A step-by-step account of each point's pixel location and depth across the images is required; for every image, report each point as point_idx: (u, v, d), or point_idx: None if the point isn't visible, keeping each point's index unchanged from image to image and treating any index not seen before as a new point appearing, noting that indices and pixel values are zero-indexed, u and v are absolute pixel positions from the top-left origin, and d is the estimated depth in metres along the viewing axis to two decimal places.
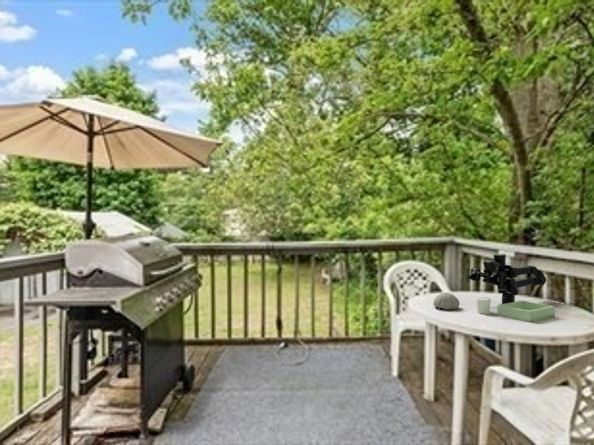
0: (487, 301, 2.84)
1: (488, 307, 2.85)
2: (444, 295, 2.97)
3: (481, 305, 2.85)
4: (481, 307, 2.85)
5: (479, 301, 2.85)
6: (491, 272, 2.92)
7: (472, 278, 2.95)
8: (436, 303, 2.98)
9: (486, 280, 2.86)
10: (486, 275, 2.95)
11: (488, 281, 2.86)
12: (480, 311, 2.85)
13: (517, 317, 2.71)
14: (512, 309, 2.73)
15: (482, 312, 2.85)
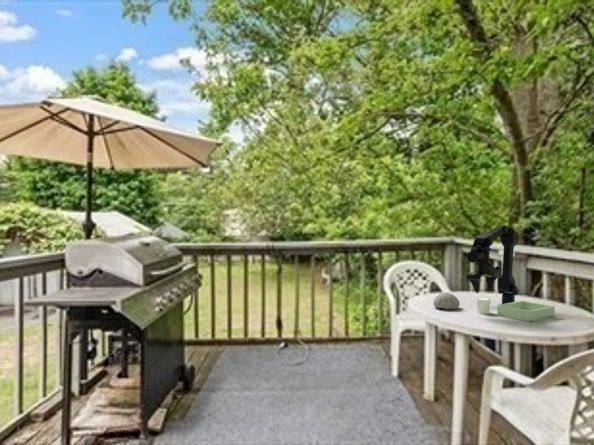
0: (487, 301, 2.84)
1: (488, 307, 2.85)
2: (444, 295, 2.97)
3: (481, 305, 2.85)
4: (481, 307, 2.85)
5: (479, 301, 2.85)
6: None
7: None
8: (436, 303, 2.98)
9: None
10: None
11: None
12: (480, 311, 2.85)
13: (517, 317, 2.71)
14: (512, 309, 2.73)
15: (482, 312, 2.85)
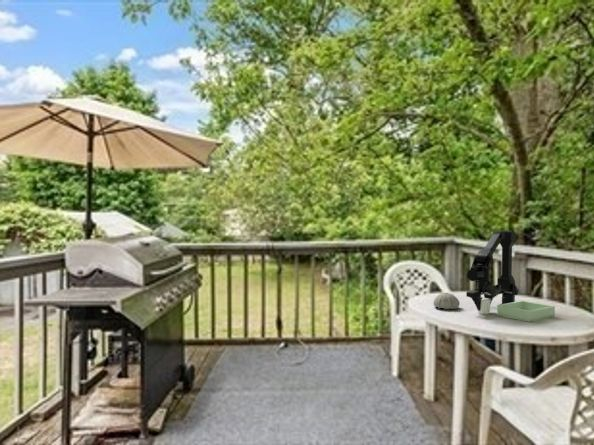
0: (487, 301, 2.84)
1: (488, 307, 2.85)
2: (444, 295, 2.97)
3: (481, 305, 2.85)
4: (481, 307, 2.85)
5: None
6: None
7: None
8: (436, 303, 2.98)
9: None
10: None
11: None
12: (480, 311, 2.85)
13: (517, 317, 2.71)
14: (512, 309, 2.73)
15: (482, 312, 2.85)
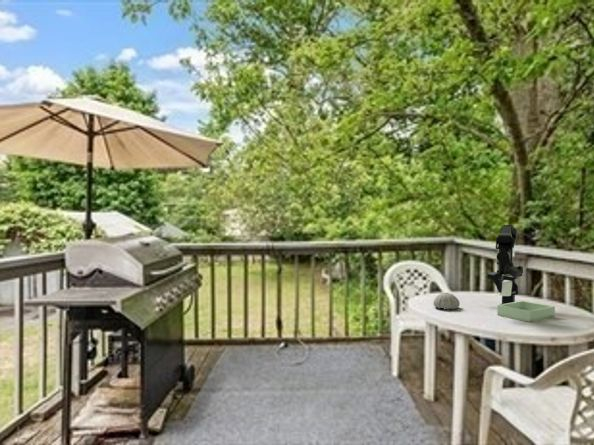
0: (508, 283, 2.78)
1: (509, 289, 2.79)
2: (444, 295, 2.97)
3: (502, 287, 2.79)
4: (502, 289, 2.80)
5: None
6: None
7: None
8: (436, 303, 2.98)
9: None
10: None
11: None
12: (501, 293, 2.80)
13: (517, 317, 2.71)
14: (512, 309, 2.73)
15: (503, 294, 2.80)
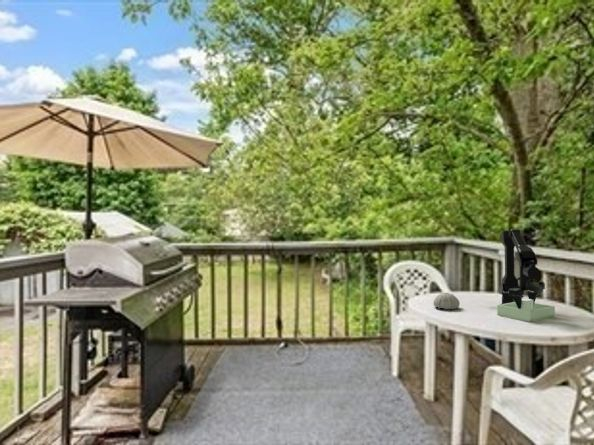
0: (530, 302, 2.75)
1: (531, 308, 2.75)
2: (444, 295, 2.97)
3: (524, 306, 2.75)
4: (524, 308, 2.75)
5: (522, 302, 2.76)
6: None
7: None
8: (436, 303, 2.98)
9: None
10: None
11: None
12: None
13: (517, 317, 2.71)
14: (512, 309, 2.73)
15: None
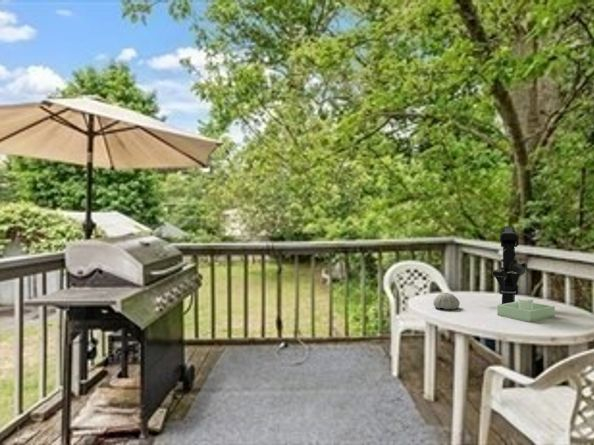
0: (530, 302, 2.75)
1: (531, 308, 2.75)
2: (444, 295, 2.97)
3: (524, 306, 2.75)
4: (524, 308, 2.76)
5: (521, 302, 2.76)
6: None
7: None
8: (436, 303, 2.98)
9: None
10: None
11: None
12: None
13: (517, 317, 2.71)
14: (512, 309, 2.73)
15: None
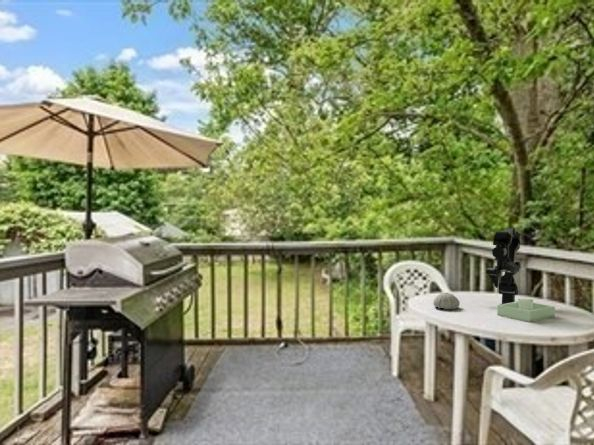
0: (530, 302, 2.75)
1: (531, 308, 2.75)
2: (444, 295, 2.97)
3: (524, 306, 2.75)
4: (524, 308, 2.76)
5: (521, 302, 2.76)
6: None
7: None
8: (436, 303, 2.98)
9: None
10: None
11: None
12: None
13: (517, 317, 2.71)
14: (512, 309, 2.73)
15: None
